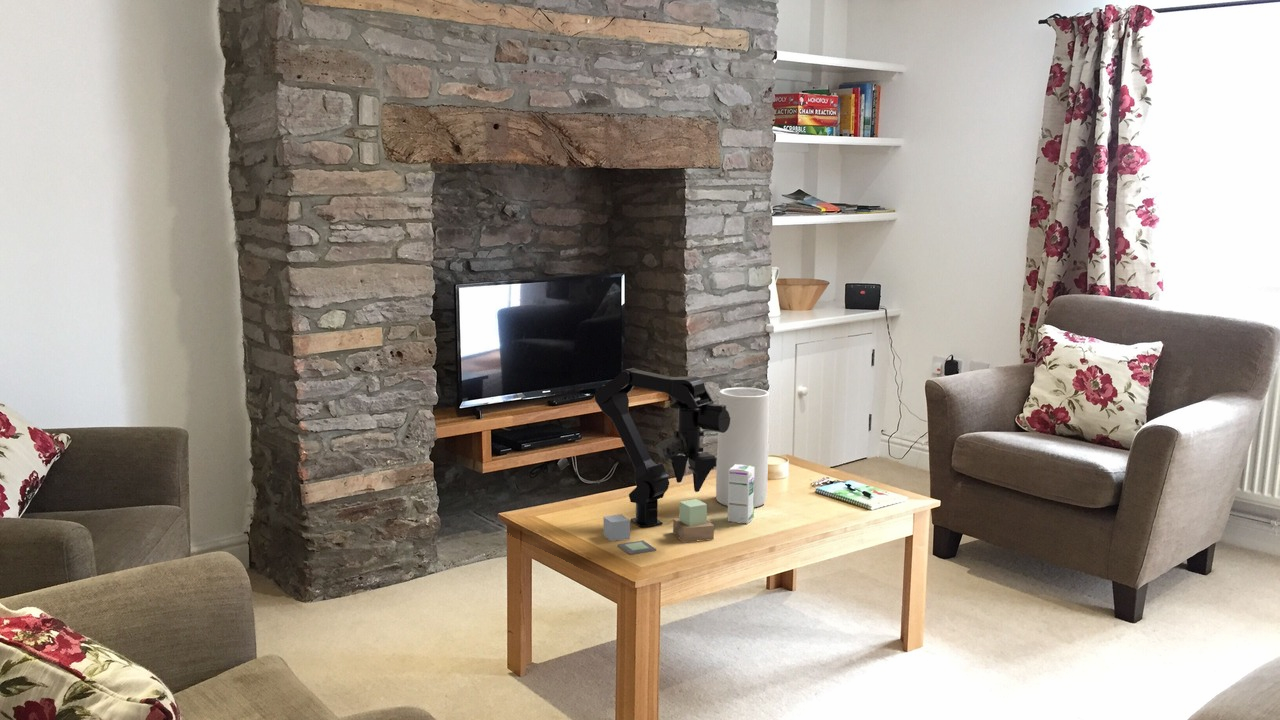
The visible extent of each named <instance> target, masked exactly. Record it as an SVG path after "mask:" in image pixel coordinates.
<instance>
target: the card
mask: <svg viewBox="0 0 1280 720" xmlns="http://www.w3.org/2000/svg"><path fill="white" fill-rule="evenodd" d="M617 547H619V548H620V549H621V550H623V551H625V552H626V553H627V554H629V555H631V554H632V555H636V554H643V553H650V552H654V551H657V548H655V547H654V546H652V544H649V543H648V542H647V541H645V540H643V539H642V540H637V541H629V542H624V543H623V542H622V543H617Z"/></svg>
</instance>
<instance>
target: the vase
mask: <svg viewBox="0 0 1280 720" xmlns="http://www.w3.org/2000/svg"><path fill="white" fill-rule="evenodd" d="M718 398H719V401H718V405H726V410H727V411H728V413H729V417H730V425H729V428H728V430H727V431H726V432H725V433H721V432H717V449H716V450H717V453H716V454H717V455H716V458H717V466H716V474H715V475H716V478H715V479H716V480H715V491H716V492H715V495H716V497H715V498H716V500H717V502H718V503H720V504H721V505H723V506H726V507H728V470H729V469H730V468H731V467H733V466H734V465H735V464H736V465H749V466H754V508H757V507H760V506H762V505H764V504H765V503H766V501H767V495H768V494H767V493H768V478H769V477H768V476H769V475H768V474H769V473H768V471H769V469H768V468H769V463H768V462H769V436H770V435H769V433H770V432H769V429H770V427H769V426H770V392H769V391H768V390H765V389H761V388H755V387H727V388H722V389H720V390H719V397H718Z"/></svg>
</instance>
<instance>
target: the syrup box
mask: <svg viewBox="0 0 1280 720" xmlns="http://www.w3.org/2000/svg"><path fill="white" fill-rule="evenodd" d="M754 511H755V507H754V466H749V465H736V464H735V465H734V466H733V467H731V468H730V469H729V470H728V506H727V522H729V521H732V522H731V523H735V522H740V523H739V524H742V523H746V524H745V525H749V523H750V522H751V521H752V520H753V519H754V518H755V515H754V514H755V512H754Z"/></svg>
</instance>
